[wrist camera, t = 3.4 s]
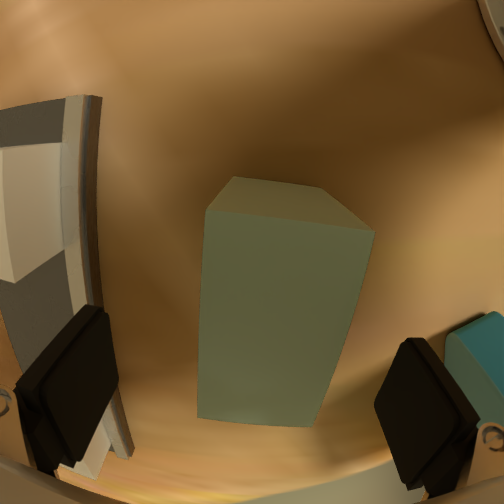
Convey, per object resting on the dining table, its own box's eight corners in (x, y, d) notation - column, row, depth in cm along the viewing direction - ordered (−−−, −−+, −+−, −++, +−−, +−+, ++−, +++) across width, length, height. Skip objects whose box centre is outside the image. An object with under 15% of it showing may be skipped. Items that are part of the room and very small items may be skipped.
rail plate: (-7, 114, 13) (-23, 115, 12) (102, 97, 14) (86, 94, 12) (53, 420, 24) (47, 430, 22) (134, 448, 24) (130, 460, 22)
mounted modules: (-9, 148, 13) (-64, 159, 9) (65, 142, 13) (2, 149, 9) (52, 418, 22) (32, 452, 17) (112, 440, 22) (96, 480, 17)
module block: (233, 176, 15) (205, 209, 8) (321, 187, 15) (375, 232, 8) (220, 313, 18) (197, 417, 10) (295, 321, 18) (312, 427, 10)
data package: (475, 398, 21) (523, 485, 10) (437, 417, 22) (479, 513, 10) (490, 302, 17) (584, 402, 6) (444, 325, 18) (532, 449, 7)
